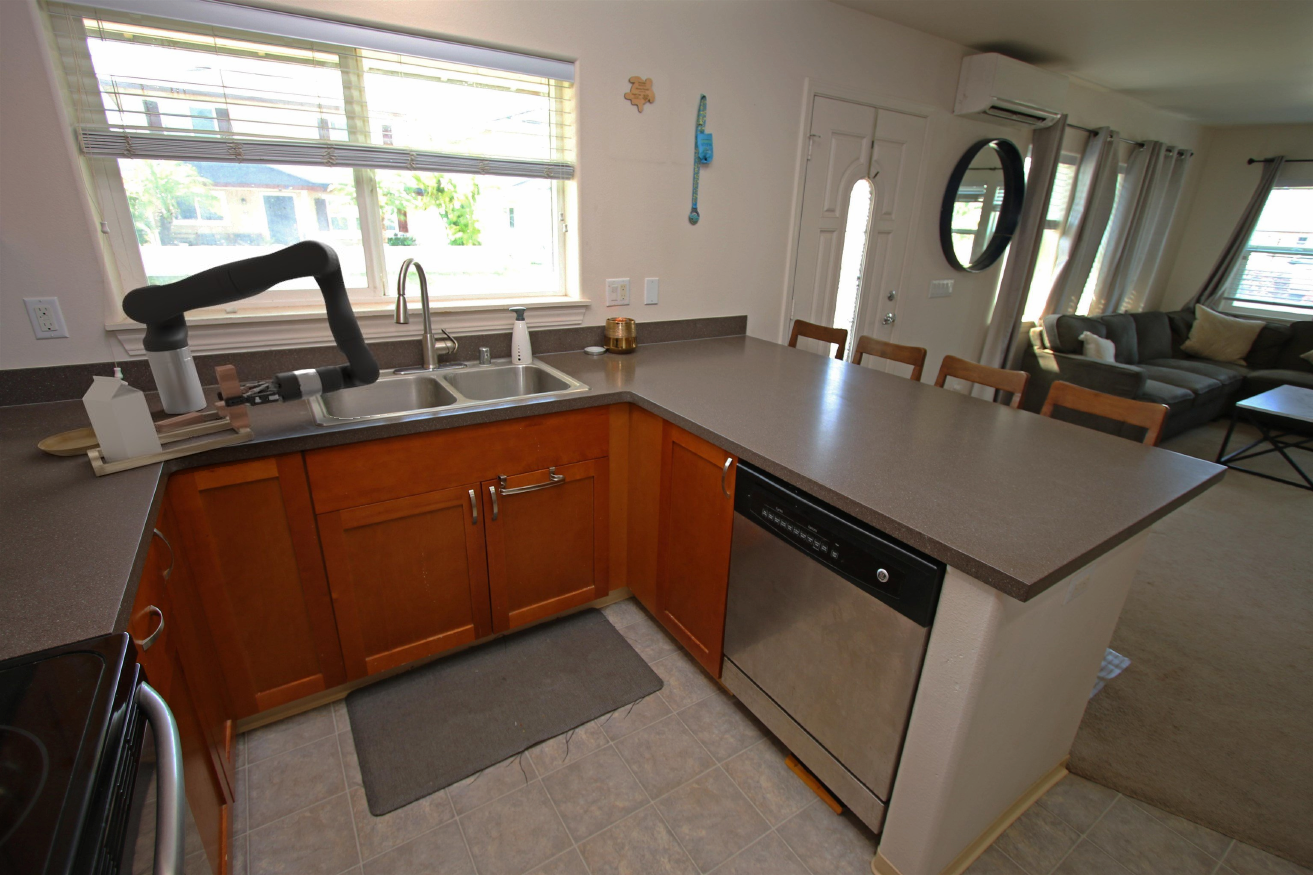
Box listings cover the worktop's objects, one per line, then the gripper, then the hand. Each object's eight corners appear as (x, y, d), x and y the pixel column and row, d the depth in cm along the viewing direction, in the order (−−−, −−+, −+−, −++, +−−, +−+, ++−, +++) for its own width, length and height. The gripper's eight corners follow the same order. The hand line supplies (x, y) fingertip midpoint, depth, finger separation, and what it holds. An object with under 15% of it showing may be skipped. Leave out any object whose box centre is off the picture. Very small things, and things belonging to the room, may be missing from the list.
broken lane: (132, 434, 144) (125, 416, 142) (231, 414, 158) (226, 397, 156) (139, 445, 138) (132, 426, 136) (241, 423, 152) (236, 406, 150)
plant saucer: (119, 431, 147) (115, 421, 146) (133, 446, 138) (130, 435, 137) (37, 448, 136) (33, 438, 135) (47, 466, 128) (42, 455, 127)
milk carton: (132, 466, 127) (102, 383, 120) (106, 463, 129) (74, 380, 122) (164, 453, 134) (137, 373, 127) (138, 450, 135) (110, 371, 128)
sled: (89, 457, 131) (61, 385, 124) (243, 424, 151) (225, 360, 144) (96, 476, 122) (66, 400, 116) (258, 438, 142) (240, 371, 136)
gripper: (285, 366, 155) (209, 378, 143) (304, 376, 146) (224, 391, 134) (291, 393, 157) (217, 407, 146) (310, 405, 148) (233, 422, 137)
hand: (221, 399), depth 140 cm, fingers open, 6 cm apart
